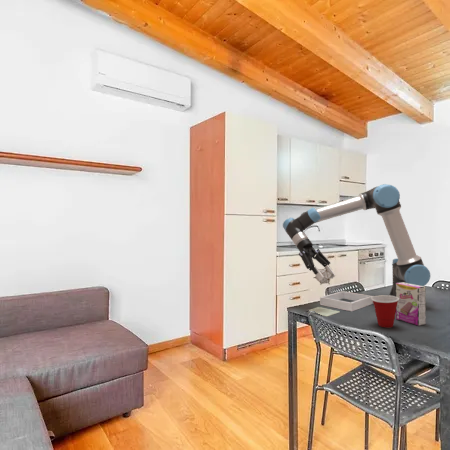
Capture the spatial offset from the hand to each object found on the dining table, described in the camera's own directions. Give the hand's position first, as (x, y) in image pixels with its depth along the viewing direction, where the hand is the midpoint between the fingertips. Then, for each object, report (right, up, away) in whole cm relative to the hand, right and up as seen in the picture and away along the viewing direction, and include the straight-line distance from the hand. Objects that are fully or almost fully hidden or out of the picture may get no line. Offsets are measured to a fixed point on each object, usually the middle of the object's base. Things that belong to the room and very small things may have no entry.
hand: (327, 277), depth 166 cm
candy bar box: (+31, -17, -16) cm, 39 cm away
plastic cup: (+18, -17, -20) cm, 32 cm away
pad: (-2, -17, +2) cm, 17 cm away
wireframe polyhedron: (-1, -4, +3) cm, 5 cm away
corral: (+15, -16, +16) cm, 28 cm away
